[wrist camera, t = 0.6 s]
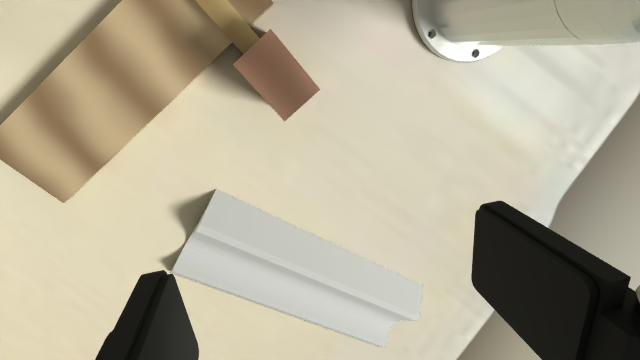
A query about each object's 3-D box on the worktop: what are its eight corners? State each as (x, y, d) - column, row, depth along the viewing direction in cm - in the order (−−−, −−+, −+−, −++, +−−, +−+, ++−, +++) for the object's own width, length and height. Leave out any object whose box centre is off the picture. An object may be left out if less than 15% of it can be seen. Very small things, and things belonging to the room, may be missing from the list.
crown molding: (172, 266, 40) (164, 285, 36) (218, 183, 37) (214, 196, 34) (376, 340, 50) (384, 361, 47) (422, 280, 48) (435, 297, 44)
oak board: (207, -79, 28) (204, -85, 27) (272, 4, 31) (273, 2, 30) (-8, 141, 31) (-20, 145, 30) (71, 197, 34) (63, 203, 33)
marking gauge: (190, -61, 28) (171, -94, 22) (308, 82, 34) (320, 89, 28) (157, -27, 29) (129, -50, 22) (279, 108, 35) (284, 121, 28)
